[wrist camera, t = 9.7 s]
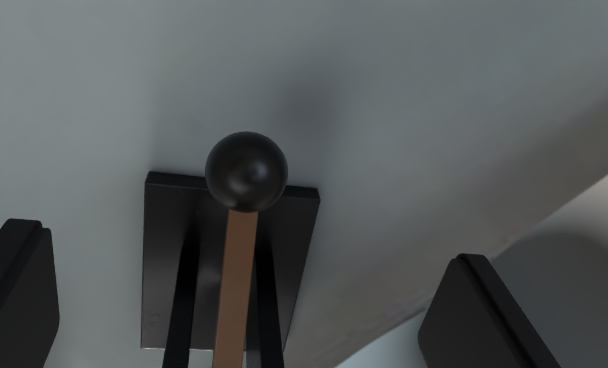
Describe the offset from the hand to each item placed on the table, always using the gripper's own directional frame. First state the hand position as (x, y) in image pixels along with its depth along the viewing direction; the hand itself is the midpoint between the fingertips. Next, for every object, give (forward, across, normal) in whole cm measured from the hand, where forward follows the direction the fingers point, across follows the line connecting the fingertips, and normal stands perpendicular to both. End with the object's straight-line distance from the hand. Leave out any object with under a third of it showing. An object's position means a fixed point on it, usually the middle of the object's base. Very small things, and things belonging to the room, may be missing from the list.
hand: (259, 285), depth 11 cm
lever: (+6, 0, +7) cm, 9 cm away
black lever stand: (+13, 0, +11) cm, 17 cm away
